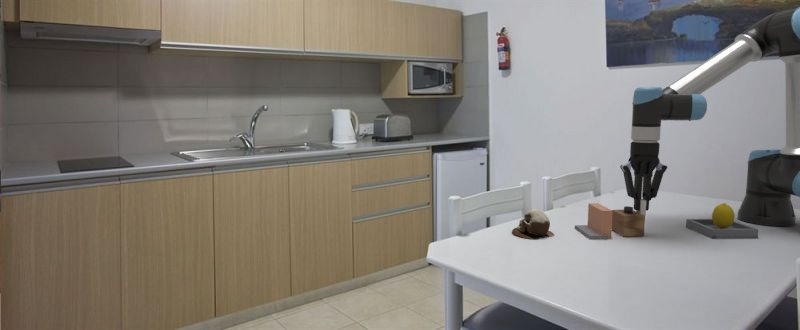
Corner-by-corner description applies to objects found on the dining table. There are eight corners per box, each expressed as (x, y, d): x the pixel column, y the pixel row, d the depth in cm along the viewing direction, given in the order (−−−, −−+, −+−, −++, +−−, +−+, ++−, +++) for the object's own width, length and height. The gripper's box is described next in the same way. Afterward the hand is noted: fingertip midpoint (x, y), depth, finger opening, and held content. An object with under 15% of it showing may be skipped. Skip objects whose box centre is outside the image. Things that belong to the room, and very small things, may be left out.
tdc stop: (595, 228, 155) (597, 202, 154) (612, 239, 143) (614, 211, 142) (574, 228, 155) (575, 202, 154) (589, 239, 143) (591, 211, 142)
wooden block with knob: (630, 228, 153) (632, 204, 152) (643, 236, 145) (645, 210, 144) (611, 229, 153) (612, 204, 152) (623, 236, 145) (624, 210, 144)
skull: (500, 229, 151) (518, 201, 154) (520, 248, 155) (537, 221, 158) (529, 237, 141) (547, 207, 143) (549, 257, 145) (566, 228, 147)
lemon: (736, 232, 146) (739, 205, 145) (716, 231, 147) (718, 204, 146) (728, 227, 151) (730, 201, 150) (707, 226, 152) (709, 200, 151)
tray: (727, 226, 156) (728, 218, 156) (757, 238, 143) (758, 229, 143) (685, 226, 156) (686, 218, 156) (712, 238, 143) (712, 229, 143)
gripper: (660, 140, 149) (655, 218, 153) (616, 140, 149) (612, 218, 152) (674, 142, 142) (669, 224, 145) (628, 142, 142) (624, 224, 145)
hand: (640, 221), depth 149 cm, fingers closed
